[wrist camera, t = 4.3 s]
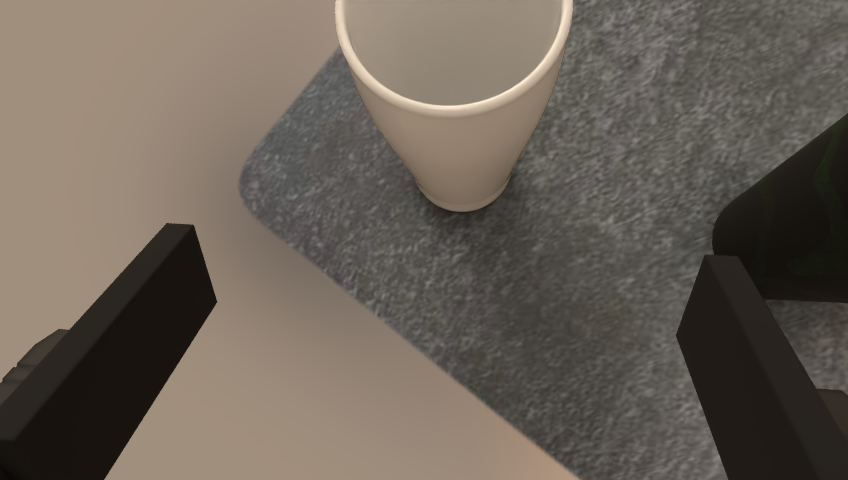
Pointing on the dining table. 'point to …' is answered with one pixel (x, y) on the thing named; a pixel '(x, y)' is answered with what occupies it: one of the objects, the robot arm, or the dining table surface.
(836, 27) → the dining table surface
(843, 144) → the cup
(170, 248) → the robot arm
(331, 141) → the dining table surface
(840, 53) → the dining table surface
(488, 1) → the drinking glass
